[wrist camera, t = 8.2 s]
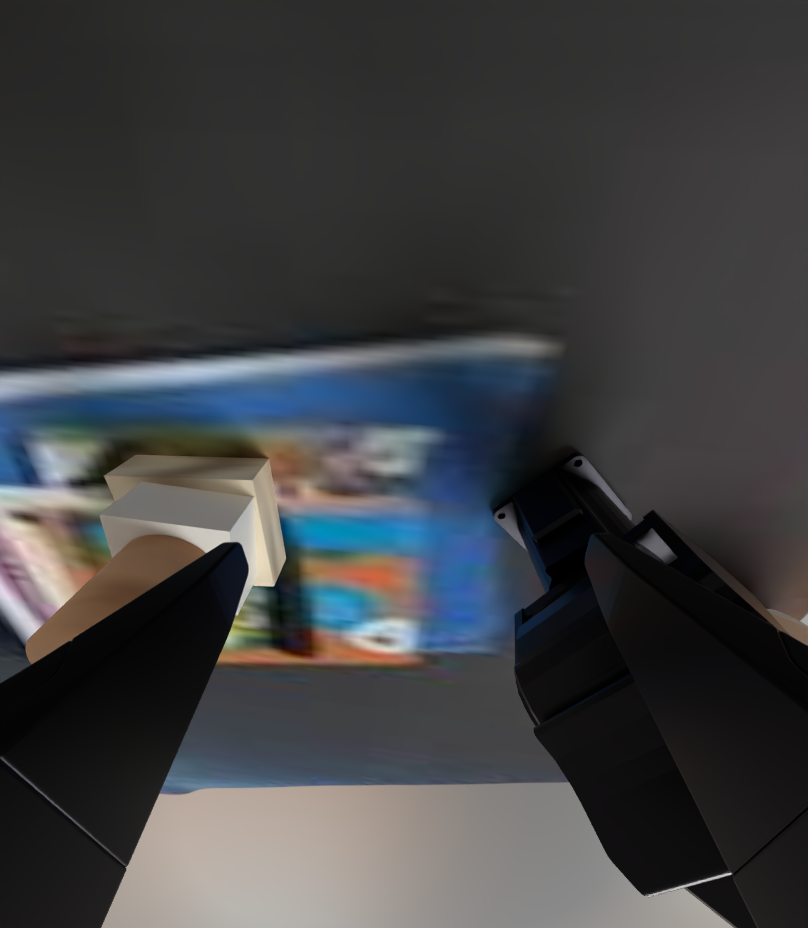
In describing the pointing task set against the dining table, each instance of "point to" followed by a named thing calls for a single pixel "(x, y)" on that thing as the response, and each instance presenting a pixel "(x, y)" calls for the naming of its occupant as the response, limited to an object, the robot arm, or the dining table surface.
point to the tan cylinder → (113, 589)
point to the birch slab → (217, 477)
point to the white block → (184, 520)
